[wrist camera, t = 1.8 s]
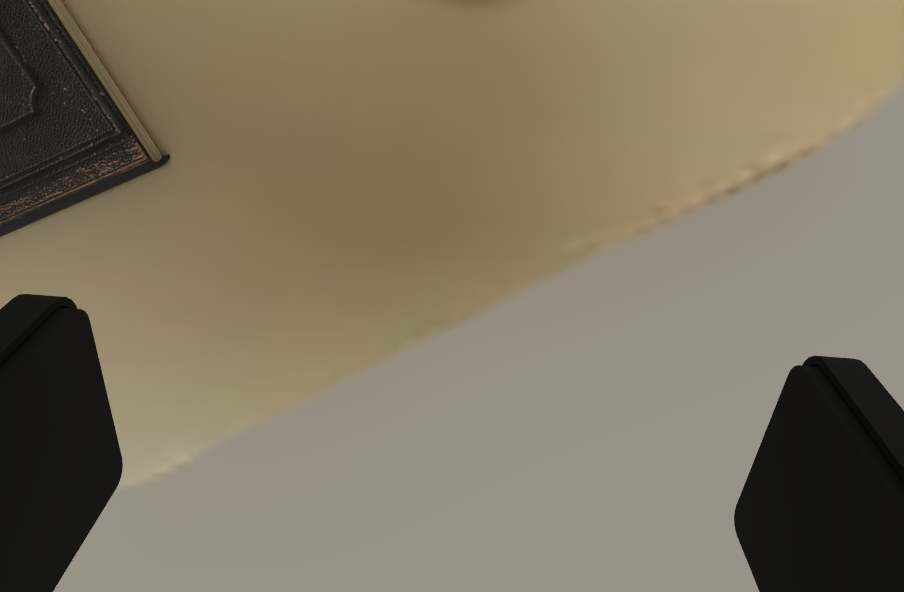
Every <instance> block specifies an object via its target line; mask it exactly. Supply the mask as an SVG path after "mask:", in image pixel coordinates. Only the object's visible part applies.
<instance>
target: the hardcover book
mask: <svg viewBox="0 0 904 592" xmlns="http://www.w3.org/2000/svg"><path fill="white" fill-rule="evenodd" d="M169 158H170V155H169V154H168V155H166V156H163V157H162V155H161V153H160V152H159V150H158V149H157V147H156V146H155V144H154V143H153V141H152V140H151V138H150V137H149V135H148V133H147V132H146V130H145V129H144V127H143V126H142V124H141V123H140V121H139V120H138V118H137V117H136V115H135V114H134V112H133V110H132V109H131V107H130V106H129V104H128V103H127V101H126V100H125V98H124V97H123V95H122V94H121V92H120V91H119V89H118V87H117V86H116V84H115V83H114V81H113V80H112V78H111V77H110V75H109V74H108V72H107V71H106V69H105V67H104V66H103V64H102V63H101V61H100V60H99V58H98V57H97V55H96V54H95V52H94V51H93V49H92V48H91V46H90V44H89V43H88V41H87V40H86V38H85V37H84V35H83V34H82V32H81V31H80V29H79V28H78V26H77V24H76V23H75V21H74V20H73V18H72V17H71V15H70V14H69V12H68V11H67V9H66V8H65V6H64V5H63V3H62V1H61V0H0V237H1V236H3V235H5V234H8V233H10V232H12V231H14V230H17V229H19V228H21V227H24V226H26V225H28V224H30V223H33V222H35V221H37V220H40V219H42V218H44V217H46V216H49V215H51V214H53V213H56V212H58V211H60V210H62V209H65V208H67V207H69V206H72V205H74V204H76V203H78V202H81V201H83V200H85V199H88V198H90V197H92V196H94V195H97V194H99V193H101V192H104V191H106V190H108V189H110V188H113V187H115V186H117V185H120V184H122V183H124V182H127V181H129V180H131V179H133V178H136V177H138V176H140V175H143V174H145V173H147V172H149V171H152V170H154V169H156V168H159V167H160V166H162V165H164V164H165V163H166V162H167V161H168V160H169Z"/></svg>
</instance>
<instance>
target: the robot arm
mask: <svg viewBox="0 0 904 592" xmlns="http://www.w3.org/2000/svg"><path fill="white" fill-rule="evenodd" d="M122 465H123V463H122V456H121V452H120V448H119V443H118V439H117V435H116V431H115V426H114V422H113V418H112V414H111V409H110V405H109V401H108V397H107V392H106V388H105V384H104V379H103V375H102V371H101V367H100V362H99V358H98V354H97V350H96V345H95V341H94V337H93V333H92V328H91V324H90V320H89V317H88V315H87V313H86V312H85V311H83V310H81V309H77V307H76V305H75V303H74V302H73V301H72V300H71V299H69V298H67V297H57V296H44V295H31V294H21V295H18V296H16V297H15V298H13V299H12V300H11V301H10V302H8V303H7V304H6V305H5V306H4V307H3V308H1V309H0V592H53V590H54V589H55V587H56V585H57V584H58V582H59V581H60V579H61V577H62V576H63V574H64V572H65V571H66V569H67V567H68V566H69V564H70V563H71V561H72V559H73V558H74V556H75V554H76V553H77V551H78V550H79V548H80V546H81V545H82V543H83V542H84V540H85V538H86V537H87V535H88V533H89V532H90V530H91V528H92V527H93V525H94V524H95V522H96V520H97V518H98V517H99V515H100V514H101V512H102V510H103V509H104V507H105V506H106V504H107V502H108V501H109V499H110V498H111V496H112V494H113V493H114V491H115V489H116V488H117V486H118V484H119V481H120V478H121V474H122ZM734 522H735V530H736V533H737V537H738V539H739V542H740V544H741V547H742V549H743V551H744V554H745V556H746V559H747V561H748V564H749V566H750V569H751V571H752V574H753V576H754V579H755V581H756V584H757V586H758V589H759V591H760V592H904V411H903V410H902V408H901V407H900V406H899V405H898V404H897V402H896V401H895V400H894V399H893V397H892V396H891V395H890V394H889V393H888V391H887V390H886V389H885V388H884V386H883V385H882V384H881V383H880V382H879V380H878V379H877V378H876V377H875V376H874V374H873V373H872V372H871V371H870V369H868V367H867V366H866V365H865V364H864V363H863V362H862V361H860V360H857V359H849V358H836V357H823V356H812V357H809V358H808V359H807V360H806V361H805V362H804V363H803V365H802V366H800V365H798V366H795V367H793V368H792V369H791V371H790V373H789V375H788V377H787V379H786V382H785V384H784V387H783V389H782V392H781V394H780V397H779V400H778V402H777V404H776V407H775V410H774V412H773V415H772V417H771V420H770V422H769V425H768V427H767V430H766V432H765V435H764V437H763V440H762V442H761V445H760V447H759V450H758V452H757V455H756V458H755V460H754V463H753V465H752V468H751V470H750V473H749V475H748V478H747V480H746V483H745V485H744V488H743V490H742V493H741V496H740V498H739V500H738V503H737V505H736V509H735V515H734Z"/></svg>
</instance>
